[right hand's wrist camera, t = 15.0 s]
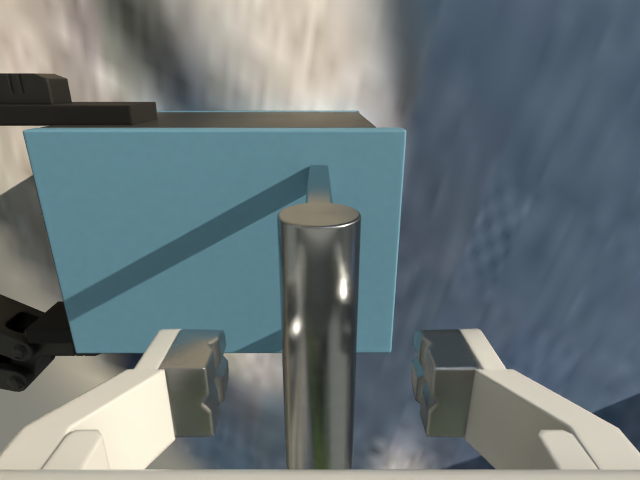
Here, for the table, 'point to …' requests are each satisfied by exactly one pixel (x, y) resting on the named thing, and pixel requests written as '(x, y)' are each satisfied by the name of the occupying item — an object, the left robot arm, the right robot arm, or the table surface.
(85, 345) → the lid
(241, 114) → the chest
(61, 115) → the left robot arm
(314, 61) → the table surface
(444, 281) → the table surface
